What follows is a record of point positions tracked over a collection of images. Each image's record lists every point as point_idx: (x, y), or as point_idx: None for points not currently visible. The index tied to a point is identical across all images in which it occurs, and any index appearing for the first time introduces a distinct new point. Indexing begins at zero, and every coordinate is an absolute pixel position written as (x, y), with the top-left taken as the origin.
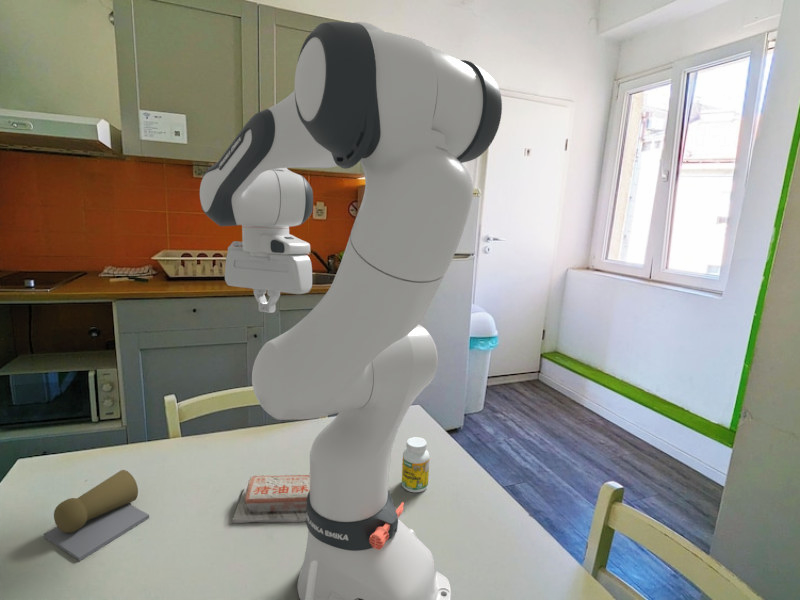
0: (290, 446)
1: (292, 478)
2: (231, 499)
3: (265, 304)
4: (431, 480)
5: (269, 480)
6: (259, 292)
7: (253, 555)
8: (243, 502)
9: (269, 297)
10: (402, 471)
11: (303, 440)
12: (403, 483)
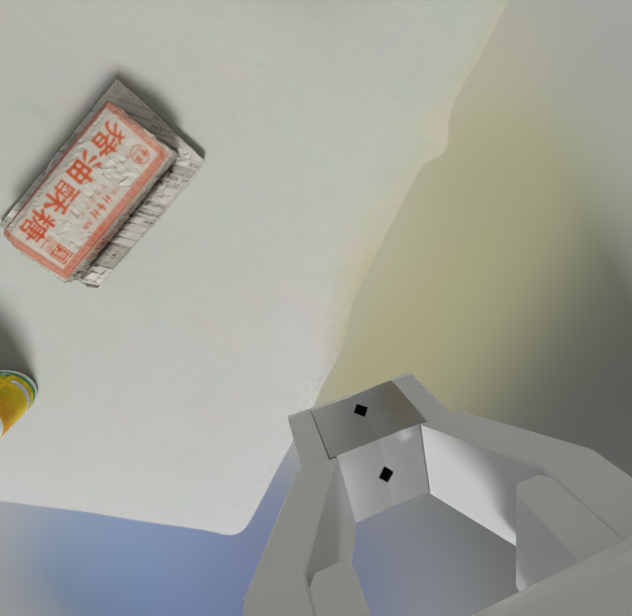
0: (275, 296)
1: (103, 206)
2: (190, 120)
3: (351, 443)
4: None
5: (126, 167)
6: (533, 524)
7: (2, 55)
8: (152, 123)
9: (304, 551)
10: (4, 386)
11: (277, 325)
12: (7, 373)
